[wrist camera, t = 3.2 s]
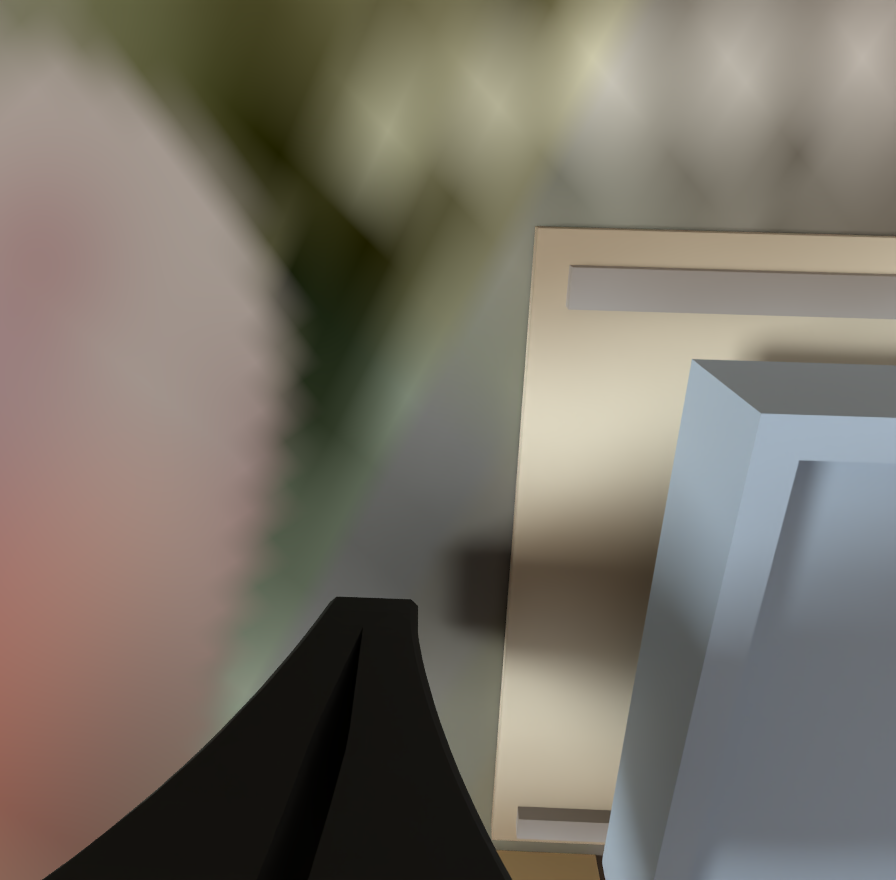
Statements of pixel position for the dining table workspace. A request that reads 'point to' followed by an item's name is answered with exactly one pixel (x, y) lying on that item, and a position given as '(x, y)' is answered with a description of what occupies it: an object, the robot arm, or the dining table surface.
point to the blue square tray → (769, 636)
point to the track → (634, 467)
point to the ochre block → (549, 865)
